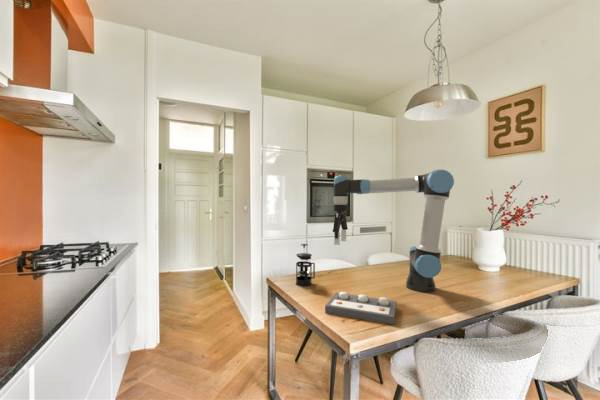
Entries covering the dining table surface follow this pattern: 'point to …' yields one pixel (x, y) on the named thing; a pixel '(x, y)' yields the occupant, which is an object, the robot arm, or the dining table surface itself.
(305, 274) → the french press
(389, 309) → the button board
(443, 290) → the dining table surface
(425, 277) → the robot arm
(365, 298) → the button middle
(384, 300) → the button
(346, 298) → the button
